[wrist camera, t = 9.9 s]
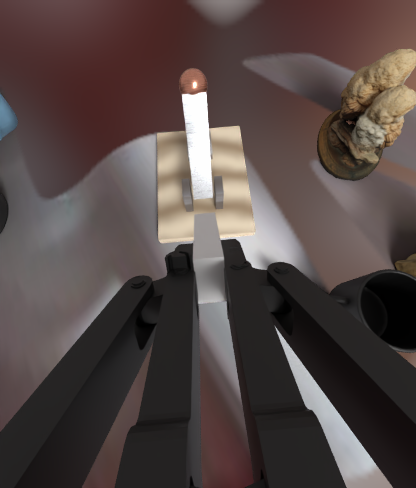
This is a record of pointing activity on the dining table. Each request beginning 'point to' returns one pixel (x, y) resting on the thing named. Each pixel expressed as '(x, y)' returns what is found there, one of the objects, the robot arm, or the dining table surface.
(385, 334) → the mug
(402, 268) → the rock
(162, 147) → the tan bracket base plate
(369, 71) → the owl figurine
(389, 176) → the dining table surface
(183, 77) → the lever
